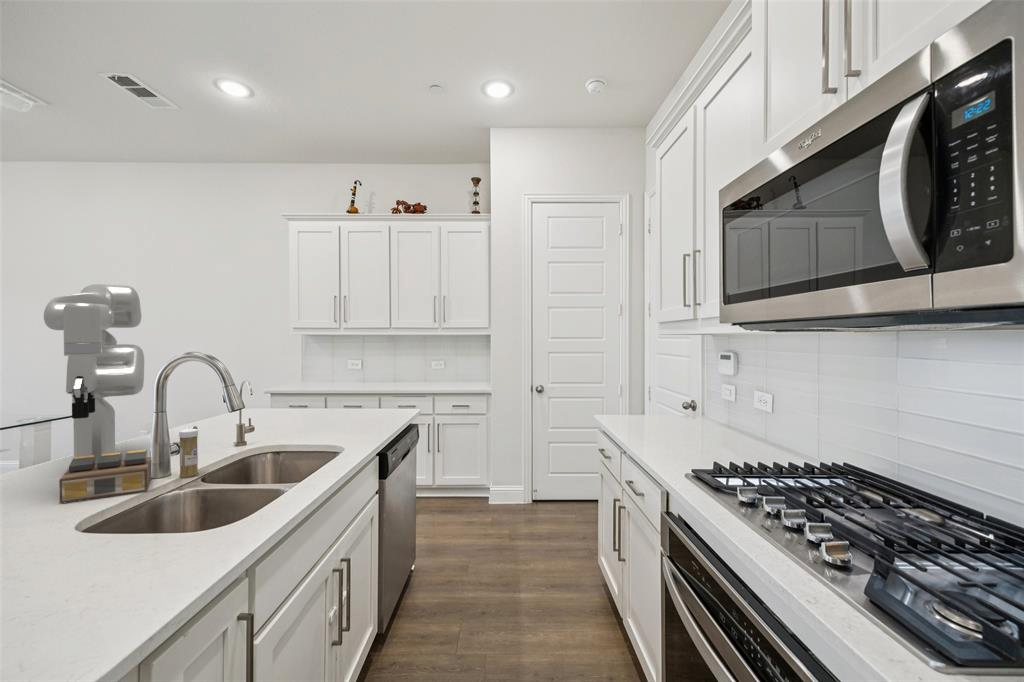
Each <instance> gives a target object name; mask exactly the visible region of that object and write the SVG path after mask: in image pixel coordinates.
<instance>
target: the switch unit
mask: <svg viewBox="0 0 1024 682" xmlns="http://www.w3.org/2000/svg"><path fill="white" fill-rule="evenodd" d="M151 480H152V456H149V457H146V461H145V463H140V464H131V465H124V459H121V464H120V465H119V466H114V467H105V468H97V463H94V467H93V468H92V469H88V470H79V471H71V472H69V470H68V471H67V470H66V472H65V473H64V474H63V475H62V476H61V477H60V478H59V487H58V488H59V504H60V503H62V504H65V503H64V502H69V503H71V502H70V501H76V502H80V501H79V500H83V501H88V500H87V499H90V500H95V499H94V498H97V499H102V498H103V497H104V498H111V497H117V495H118V496H125V495H130V494H139V493H145V492H148V489H149V486H150V483H151ZM110 496H111V497H110Z"/></svg>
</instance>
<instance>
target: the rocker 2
mask: <svg viewBox="0 0 1024 682" xmlns="http://www.w3.org/2000/svg"><path fill="white" fill-rule="evenodd" d="M122 458H123V452H122V451H121V452H120V451H119V452H115V453H109V454H101V456H100V458H99V460H98V463H97V468H105V467H114V466H119V465H120V464H121V460H123V459H122Z"/></svg>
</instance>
